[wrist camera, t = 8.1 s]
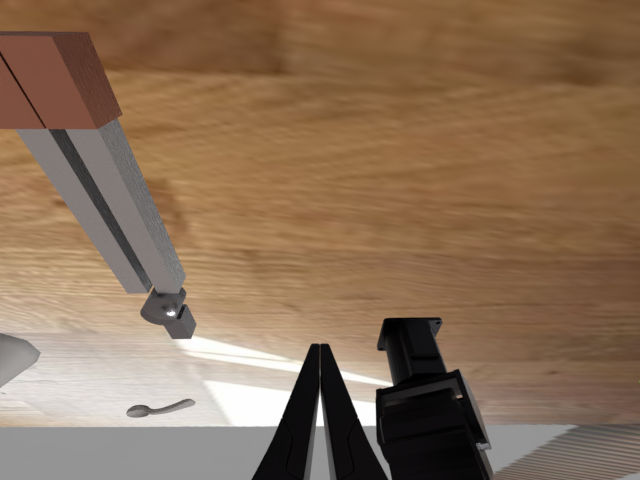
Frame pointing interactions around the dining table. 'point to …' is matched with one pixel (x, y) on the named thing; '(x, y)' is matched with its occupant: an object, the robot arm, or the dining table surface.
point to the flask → (15, 357)
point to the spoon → (144, 410)
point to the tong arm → (99, 148)
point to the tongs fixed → (78, 191)
